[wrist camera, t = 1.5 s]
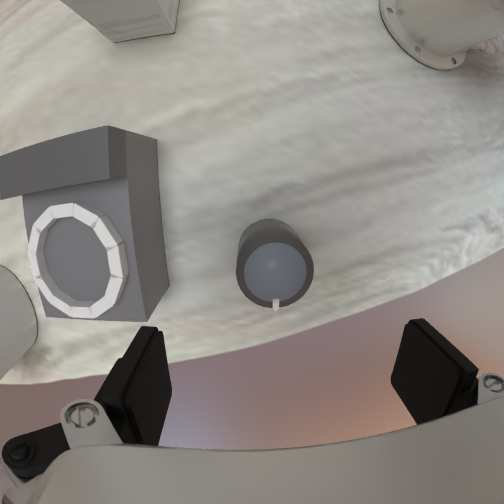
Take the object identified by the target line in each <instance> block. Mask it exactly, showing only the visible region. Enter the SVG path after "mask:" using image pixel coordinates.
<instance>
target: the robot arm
mask: <svg viewBox="0 0 504 504" xmlns="http://www.w3.org/2000/svg"><path fill="white" fill-rule="evenodd" d="M380 11H381V15H382V18H383V21H384V23H385V25H386V27H387V28H388V30H389V32H390V33H391V35H392V36H393V37H394V39H395V40H396V41H397V42H398V43H399V45H400V46H401V47H402V48H403V49H404V50H405V51H407V52H408V53H409V54H410V55H411V56H413V57H414V58H415V59H417V60H418V61H420V62H421V63H423V64H425V65H427V66H429V67H432V68H435V69H440V70H450V69H453V68H456V67H457V66H459V65H461V64H462V63H463V62H464V60H465V58H466V56H467V50H469V49H471V48H472V49H474V50H475V49H480V50H481V51H483V52H485V53H487V54H489V55H493V54H494V53H495V50H496V49H495V45H494V44H493V43H492V42H490V41H488V39H491V38H494V37H496V36H499V35H501V34H504V0H380ZM478 370H479V369H478V368H477V367H476V366H475V365H474V364H473V363H472V362H471V361H470V360H469V359H468V358H467V357H465V356H464V355H463V354H462V353H461V352H460V351H459V350H458V349H457V348H456V347H455V346H453V345H452V344H451V343H450V342H449V341H448V340H447V339H446V338H445V337H444V336H443V335H441V334H440V333H439V332H438V331H437V330H436V329H435V328H434V327H433V326H431V325H430V324H429V323H428V322H427V321H426V320H425V319H423V318H421V319H413V320H410V321H409V322H408V324H406V325H405V327H404V331H403V336H402V340H401V343H400V347H399V351H398V355H397V358H396V362H395V365H394V369H393V372H392V375H391V384H392V386H393V388H394V389H395V391H396V392H397V394H398V395H399V397H400V398H401V400H402V401H403V403H404V405H405V406H406V407H407V409H408V411H409V412H410V414H411V416H412V417H413V419H414V420H415V422H416V423H417V425H415V426H411V427H408V428H404V429H400V430H395V431H391V432H387V433H383V434H379V435H374V436H369V437H364V438H358V439H353V440H347V441H341V442H334V443H327V444H319V445H311V446H302V447H290V448H278V449H277V448H276V449H252V450H220V449H194V448H178V447H164V446H158V443H159V439H160V436H161V432H162V429H163V425H164V421H165V417H166V414H167V410H168V406H169V403H170V399H171V395H172V386H171V381H170V375H169V370H168V363H167V357H166V350H165V343H164V336H163V332H162V331H158V328H157V327H150V326H141V328H140V329H139V331H138V332H137V334H136V336H135V337H134V339H133V341H132V342H131V344H130V346H129V347H128V349H127V351H126V352H125V354H124V356H123V357H122V358H119V359H118V360H117V361H116V363H115V364H114V366H113V368H112V370H111V371H110V373H109V375H108V376H107V378H106V380H105V381H104V383H103V385H102V386H101V388H100V390H99V392H98V394H97V395H96V397H95V399H94V400H90V399H79V400H75V401H72V402H70V403H68V404H67V405H66V406H65V407H64V408H63V409H62V411H61V414H60V421H61V423H58V424H55V425H52V426H49V427H46V428H43V429H40V430H37V431H34V432H30V433H27V434H24V435H20V436H17V437H14V438H13V439H10V440H9V441H8V442H6V444H5V445H4V447H3V450H2V457H1V458H0V504H504V377H503V376H501V375H499V374H496V373H491V372H488V373H484V374H482V375H481V376H480V377H479V379H477V378H476V375H477V373H478Z"/></svg>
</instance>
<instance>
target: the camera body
mask: <svg viewBox="0 0 504 504" xmlns="http://www.w3.org/2000/svg"><path fill="white" fill-rule="evenodd" d="M21 195H22V198H23V208H24V216H25V223H26V230H27V237H28V242H29V246H28V256H29V261H30V266H31V271H32V275H33V279H34V281H35V282H36V284H37V285H38V289H39V293H40V297H41V300H42V304H43V307H44V311H45V314H46V317H56V318H70V319H85V320H104V321H131V322H147V321H148V319H149V318H150V316H151V314H152V313H153V311H154V309H155V308H156V306H157V305H158V303H159V301H160V300H161V298H162V296H163V295H164V293H165V292H166V290H167V288H168V287H169V280H168V273H167V265H166V257H165V248H164V239H163V229H162V219H161V207H160V195H159V180H158V163H157V140H156V139H153V138H150V137H147V136H143V135H140V134H136V133H133V132H130V131H126V130H123V129H119V128H115V127H112V126H103V127H98V128H94V129H89V130H85V131H81V132H77V133H73V134H69V135H65V136H62V137H58V138H54V139H51V140H47V141H44V142H41V143H38V144H34V145H31V146H28V147H25V148H22V149H19V150H16V151H13V152H11V153H8V154H5V155H2V156H0V200H3V199H7V198H12V197H16V196H21Z"/></svg>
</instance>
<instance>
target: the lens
mask: <svg viewBox="0 0 504 504" xmlns="http://www.w3.org/2000/svg"><path fill="white" fill-rule="evenodd" d="M313 273H314V267H313V261H312V258H311V256H310V254H309V252H308V250H307V249H306V248H305V246H304V245H303V243H302V242H301V241H300V239H299V238H298V237H297V235H296V234H295V233H294V231H293V230H292V229H291V228H290V227H289V226H288V225H287V224H285V223H283V222H281V221H278V220H274V219H264V220H260V221H257V222H255V223H253V224H252V225H250V226H249V227H248V228H247V229H246V230H245V231H244V233H243V234H242V236H241V239H240V242H239V248H238V258H237V268H236V276H237V281H238V285H239V287H240V289H241V291H242V292H243V293H244V295H245V296H246V297H247V298H248V299H249V300H251V301H252V302H254V303H256V304H258V305H260V306H263V307H269V308H273V310H279V307H284V306H287V305H290V304H292V303H294V302H296V301H297V300H299V299H300V298H301V297H302V296H303V295H304V294H305V293H306V291H307V290H308V288H309V286H310V285H311V282H312V279H313Z"/></svg>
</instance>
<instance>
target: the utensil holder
mask: <svg viewBox="0 0 504 504" xmlns="http://www.w3.org/2000/svg"><path fill="white" fill-rule="evenodd" d="M36 336H37V322H36V316H35V312H34V309H33V306H32V303H31V301H30V299H29V297H28V295H27V293H26V291H25V289H24V288H23V286H22V285H21V283H20V282H19V280H18V279H17V278H16V277H15V276H14V275H13V274H12V273H11V272H10V271H9V270H7V269H6V268H4V267H2V266H0V380H1V379H2V378H3V376H4V375H5V374H6V373H7V372H8V371H9V370H10V369H11V368H12V367H13V366H14V365H15V364H16V363H17V362H18V360H19V359H20V358H21V357H22V356H23V355H24V354H25V353H26V352H27V351H28V350H29V349H30V348H31V346H32V345H33V344H34V342H35V340H36Z"/></svg>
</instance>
